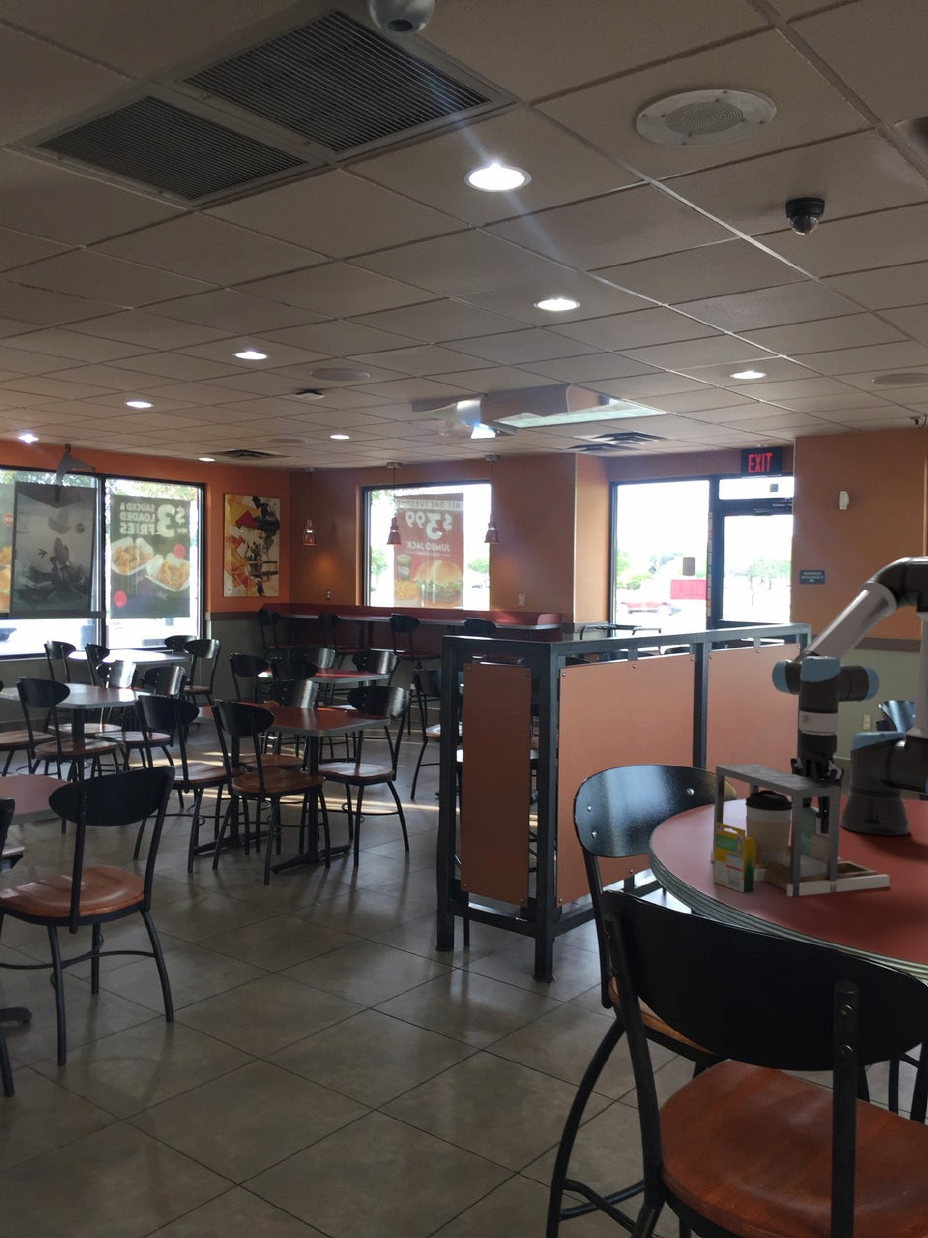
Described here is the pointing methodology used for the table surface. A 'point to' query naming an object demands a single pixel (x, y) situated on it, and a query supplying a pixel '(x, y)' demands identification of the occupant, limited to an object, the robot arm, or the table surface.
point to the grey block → (807, 866)
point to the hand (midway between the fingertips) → (813, 845)
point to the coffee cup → (769, 823)
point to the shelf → (798, 790)
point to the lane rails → (828, 883)
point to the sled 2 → (819, 851)
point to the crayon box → (734, 858)
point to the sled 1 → (807, 830)
